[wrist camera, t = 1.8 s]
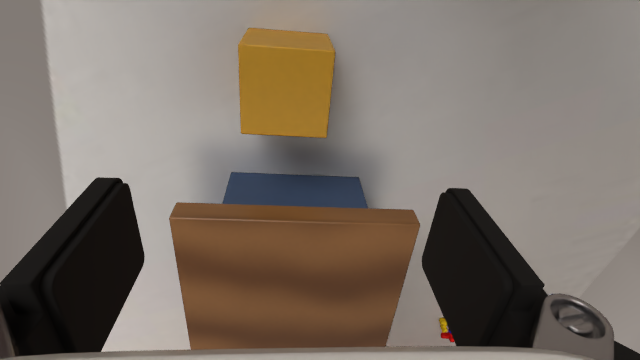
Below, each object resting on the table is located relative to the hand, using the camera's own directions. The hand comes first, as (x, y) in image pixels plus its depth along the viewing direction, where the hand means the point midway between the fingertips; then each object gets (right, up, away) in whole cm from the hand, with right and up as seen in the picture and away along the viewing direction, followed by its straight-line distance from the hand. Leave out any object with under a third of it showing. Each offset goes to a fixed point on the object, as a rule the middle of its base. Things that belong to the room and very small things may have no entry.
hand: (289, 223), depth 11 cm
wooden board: (-1, -9, +15) cm, 18 cm away
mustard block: (-1, +9, +13) cm, 16 cm away
